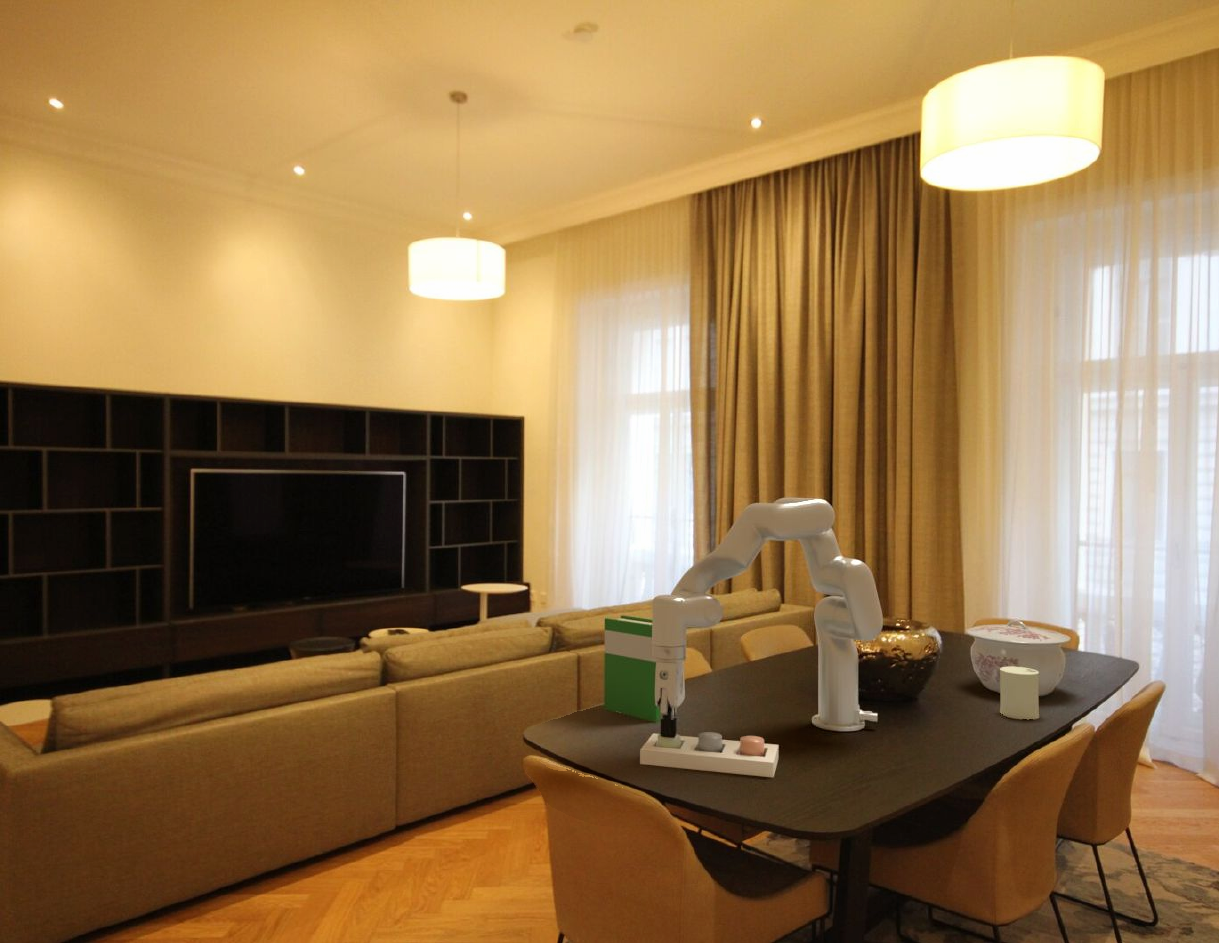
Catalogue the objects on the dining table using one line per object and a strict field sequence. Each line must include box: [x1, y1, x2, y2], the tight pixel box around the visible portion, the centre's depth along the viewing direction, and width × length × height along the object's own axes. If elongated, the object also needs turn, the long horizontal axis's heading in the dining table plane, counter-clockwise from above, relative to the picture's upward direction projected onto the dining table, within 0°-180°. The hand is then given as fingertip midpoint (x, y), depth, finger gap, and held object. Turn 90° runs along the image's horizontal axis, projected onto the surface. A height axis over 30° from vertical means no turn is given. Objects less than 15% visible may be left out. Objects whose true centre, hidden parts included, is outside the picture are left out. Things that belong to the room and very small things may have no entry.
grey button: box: [698, 731, 723, 753], centre depth 178 cm, size 5×5×4 cm
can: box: [999, 667, 1040, 721], centre depth 214 cm, size 9×9×12 cm
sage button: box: [658, 733, 682, 749], centre depth 180 cm, size 5×5×4 cm
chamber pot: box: [964, 619, 1072, 698], centre depth 238 cm, size 28×28×21 cm
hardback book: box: [603, 614, 661, 723], centre depth 215 cm, size 18×7×24 cm, turn 48°
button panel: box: [639, 732, 780, 778], centre depth 178 cm, size 28×12×3 cm, turn 74°
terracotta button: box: [739, 735, 765, 757], centre depth 175 cm, size 5×5×4 cm
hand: (668, 736), depth 180 cm, fingers closed
